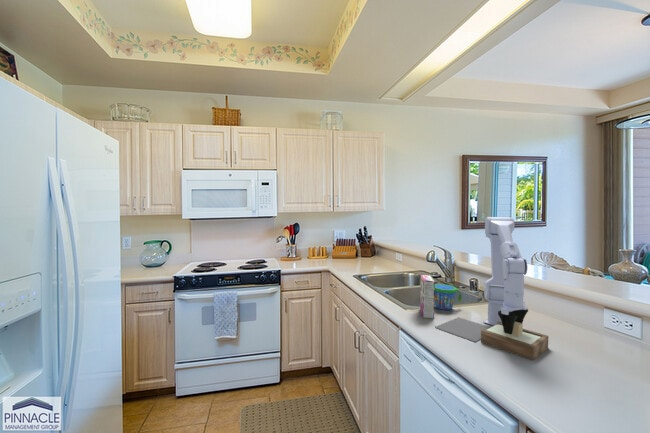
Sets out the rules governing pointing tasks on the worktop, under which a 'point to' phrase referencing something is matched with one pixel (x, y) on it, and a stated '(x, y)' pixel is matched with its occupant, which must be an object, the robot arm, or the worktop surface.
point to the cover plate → (523, 338)
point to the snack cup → (445, 296)
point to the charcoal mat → (463, 328)
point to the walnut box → (516, 343)
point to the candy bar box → (427, 296)
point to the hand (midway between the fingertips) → (512, 330)
